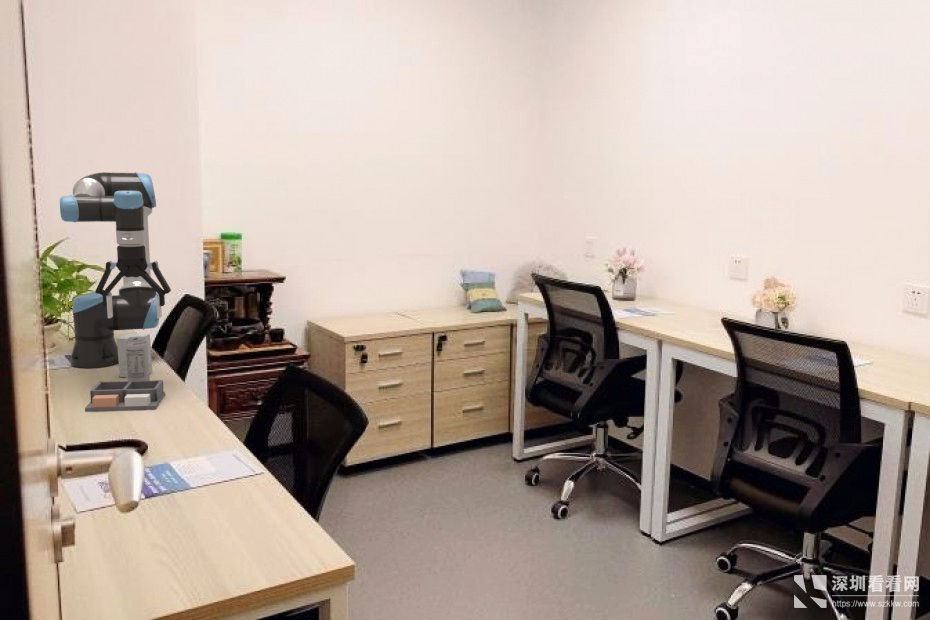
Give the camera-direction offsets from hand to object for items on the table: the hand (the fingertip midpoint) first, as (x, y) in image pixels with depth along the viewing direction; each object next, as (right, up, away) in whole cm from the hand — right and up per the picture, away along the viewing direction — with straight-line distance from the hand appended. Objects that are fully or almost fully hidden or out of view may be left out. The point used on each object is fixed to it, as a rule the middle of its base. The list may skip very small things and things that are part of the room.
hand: (135, 317), depth 225 cm
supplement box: (-7, -18, +17) cm, 26 cm away
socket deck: (+2, -24, -10) cm, 26 cm away
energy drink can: (-1, -21, +4) cm, 22 cm away
